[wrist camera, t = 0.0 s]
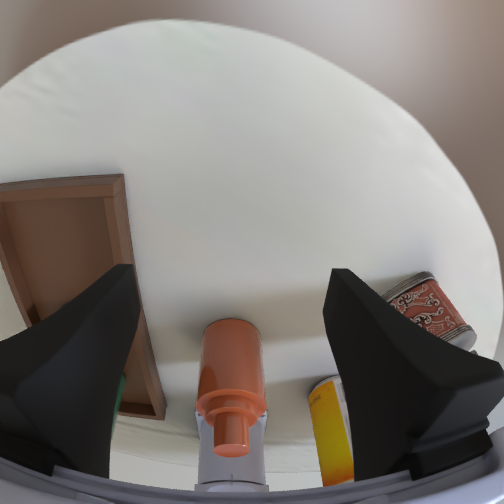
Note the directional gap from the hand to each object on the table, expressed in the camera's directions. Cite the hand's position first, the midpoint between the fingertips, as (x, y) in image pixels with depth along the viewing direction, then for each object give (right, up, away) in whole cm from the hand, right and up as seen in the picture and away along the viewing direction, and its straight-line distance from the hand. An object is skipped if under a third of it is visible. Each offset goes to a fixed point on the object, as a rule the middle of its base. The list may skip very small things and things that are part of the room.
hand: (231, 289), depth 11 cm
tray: (-14, -5, +14) cm, 20 cm away
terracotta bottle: (-1, -6, +15) cm, 16 cm away
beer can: (+10, -13, +20) cm, 26 cm away
